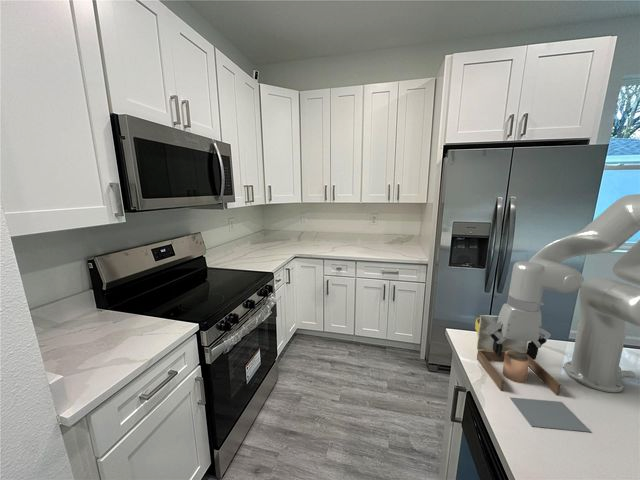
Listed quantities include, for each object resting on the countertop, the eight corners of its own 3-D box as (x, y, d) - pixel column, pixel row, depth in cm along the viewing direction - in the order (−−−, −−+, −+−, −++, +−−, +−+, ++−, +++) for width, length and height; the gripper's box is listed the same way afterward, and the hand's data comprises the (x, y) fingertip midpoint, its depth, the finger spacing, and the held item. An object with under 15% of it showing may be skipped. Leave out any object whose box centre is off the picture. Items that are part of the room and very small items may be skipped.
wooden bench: (523, 360, 87) (529, 317, 84) (558, 395, 72) (567, 344, 69) (475, 357, 89) (480, 315, 86) (500, 390, 74) (506, 340, 71)
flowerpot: (518, 370, 82) (521, 350, 81) (531, 384, 76) (534, 362, 75) (498, 369, 83) (501, 349, 82) (509, 382, 77) (512, 361, 76)
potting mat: (561, 402, 69) (561, 401, 69) (591, 432, 61) (591, 431, 61) (509, 397, 71) (509, 397, 71) (531, 426, 62) (531, 425, 62)
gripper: (545, 300, 78) (535, 350, 81) (485, 296, 80) (478, 345, 83) (565, 311, 71) (553, 366, 74) (498, 306, 73) (489, 359, 76)
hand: (513, 355), depth 78 cm, fingers open, 9 cm apart
